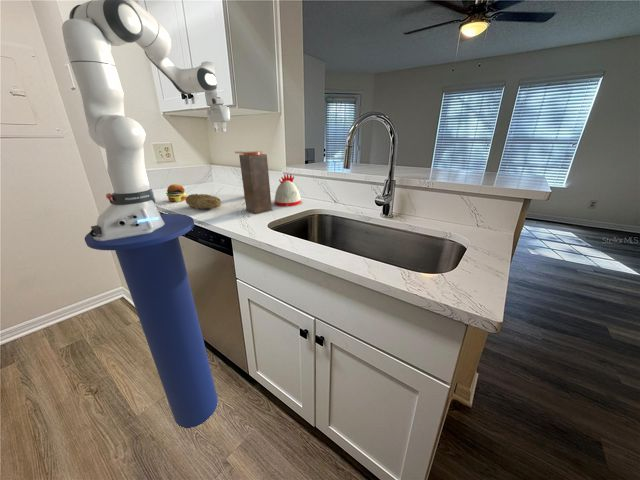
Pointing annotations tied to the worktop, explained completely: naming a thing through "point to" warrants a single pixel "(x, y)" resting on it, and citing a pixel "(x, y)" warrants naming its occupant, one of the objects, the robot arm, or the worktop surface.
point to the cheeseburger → (176, 193)
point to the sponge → (203, 201)
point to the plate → (249, 152)
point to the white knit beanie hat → (287, 193)
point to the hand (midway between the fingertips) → (220, 131)
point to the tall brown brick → (256, 182)
